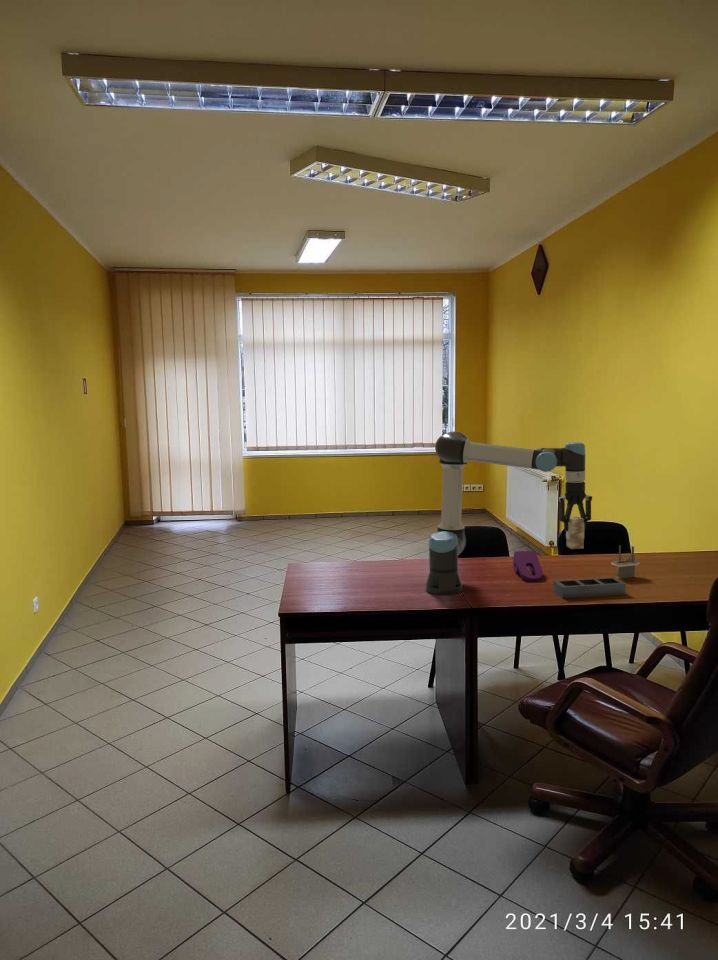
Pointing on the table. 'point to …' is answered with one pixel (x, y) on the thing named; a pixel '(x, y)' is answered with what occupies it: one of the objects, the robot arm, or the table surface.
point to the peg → (576, 533)
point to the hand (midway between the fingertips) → (575, 538)
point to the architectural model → (625, 565)
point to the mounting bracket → (524, 560)
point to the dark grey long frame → (589, 587)
